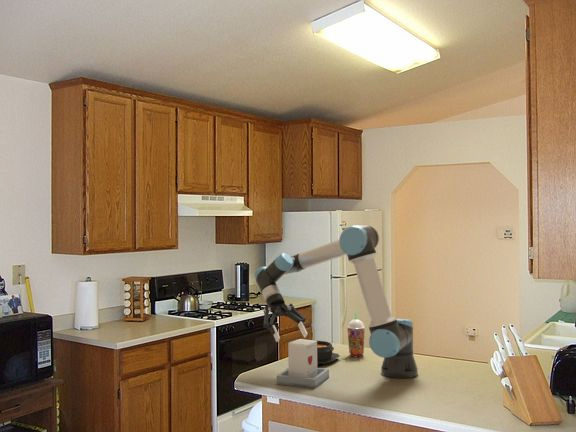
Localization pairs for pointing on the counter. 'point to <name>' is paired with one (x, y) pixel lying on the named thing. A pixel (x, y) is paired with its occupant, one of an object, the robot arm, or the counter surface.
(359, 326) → the smoothie
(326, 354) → the casserole
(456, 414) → the counter surface
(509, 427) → the counter surface
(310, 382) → the tray
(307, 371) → the supplement box
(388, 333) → the robot arm
